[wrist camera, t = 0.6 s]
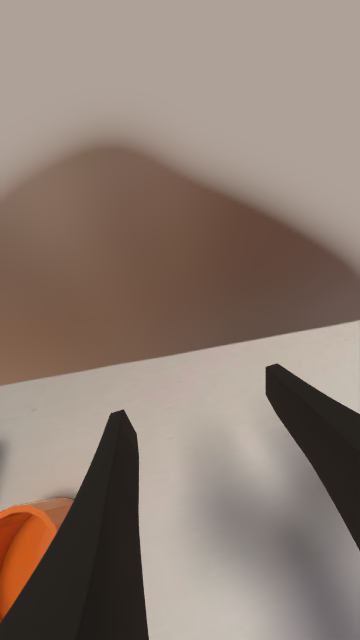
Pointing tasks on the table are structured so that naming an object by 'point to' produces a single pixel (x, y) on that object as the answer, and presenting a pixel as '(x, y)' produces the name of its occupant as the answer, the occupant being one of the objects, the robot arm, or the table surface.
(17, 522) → the cup
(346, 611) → the table surface
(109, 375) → the table surface
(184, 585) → the table surface
